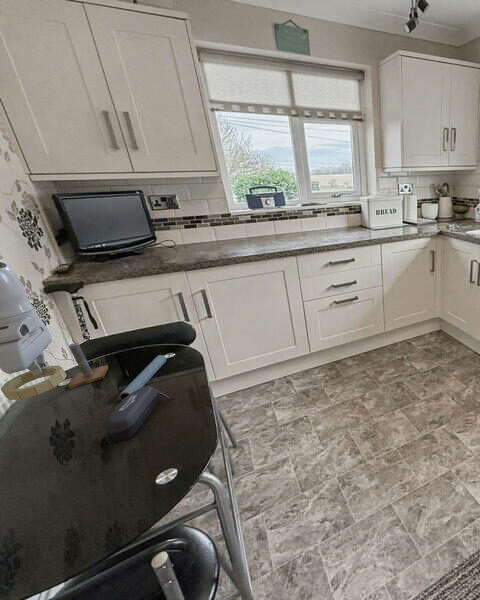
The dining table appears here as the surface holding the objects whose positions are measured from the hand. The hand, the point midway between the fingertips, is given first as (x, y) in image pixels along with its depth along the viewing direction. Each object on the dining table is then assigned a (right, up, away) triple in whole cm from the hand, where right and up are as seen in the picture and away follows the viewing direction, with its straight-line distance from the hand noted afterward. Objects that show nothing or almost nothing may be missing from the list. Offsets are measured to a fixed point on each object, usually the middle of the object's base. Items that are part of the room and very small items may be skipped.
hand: (40, 371), depth 87 cm
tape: (+3, -3, -3) cm, 5 cm away
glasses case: (+24, -15, +3) cm, 29 cm away
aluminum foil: (+10, -8, +22) cm, 26 cm away
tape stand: (-12, -8, +27) cm, 30 cm away
